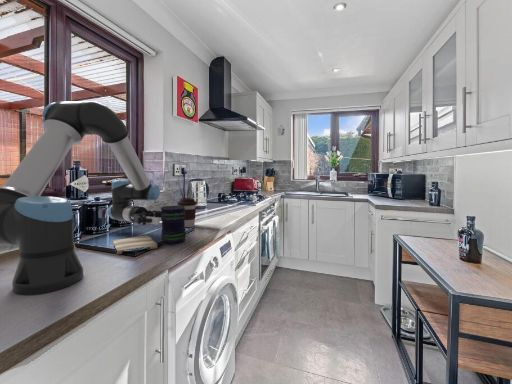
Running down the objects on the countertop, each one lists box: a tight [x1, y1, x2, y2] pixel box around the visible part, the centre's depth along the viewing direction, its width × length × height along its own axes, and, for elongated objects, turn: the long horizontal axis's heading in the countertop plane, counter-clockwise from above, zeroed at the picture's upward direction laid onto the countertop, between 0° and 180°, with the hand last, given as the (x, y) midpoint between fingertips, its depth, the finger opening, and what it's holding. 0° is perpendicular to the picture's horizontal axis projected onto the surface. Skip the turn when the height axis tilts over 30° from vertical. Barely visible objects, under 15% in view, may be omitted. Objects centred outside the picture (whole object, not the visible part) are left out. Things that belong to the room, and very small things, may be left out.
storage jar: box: [160, 205, 187, 246], centre depth 109 cm, size 10×10×15 cm
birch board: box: [112, 235, 158, 255], centre depth 104 cm, size 16×14×2 cm
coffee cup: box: [177, 197, 198, 228], centre depth 138 cm, size 10×10×15 cm
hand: (170, 218), depth 110 cm, fingers open, 13 cm apart
